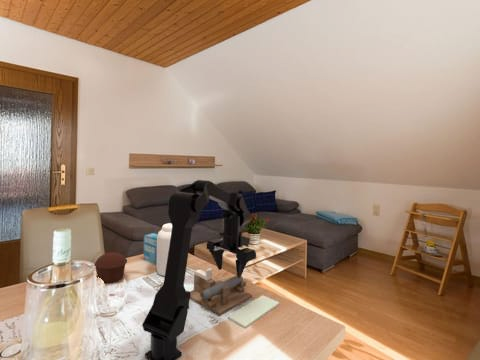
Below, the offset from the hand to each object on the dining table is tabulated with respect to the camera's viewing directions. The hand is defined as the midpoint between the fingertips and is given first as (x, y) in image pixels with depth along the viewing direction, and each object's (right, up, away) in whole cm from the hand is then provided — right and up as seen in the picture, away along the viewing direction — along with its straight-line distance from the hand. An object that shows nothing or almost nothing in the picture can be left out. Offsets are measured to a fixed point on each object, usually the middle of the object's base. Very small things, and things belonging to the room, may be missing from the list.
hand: (229, 273), depth 93 cm
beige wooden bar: (-9, -1, +1) cm, 10 cm away
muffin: (-47, -6, +11) cm, 48 cm away
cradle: (-4, -8, 0) cm, 9 cm away
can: (-25, -6, +21) cm, 33 cm away
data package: (-35, -5, +30) cm, 47 cm away
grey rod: (-2, -4, -1) cm, 5 cm away
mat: (+8, -9, -7) cm, 15 cm away
